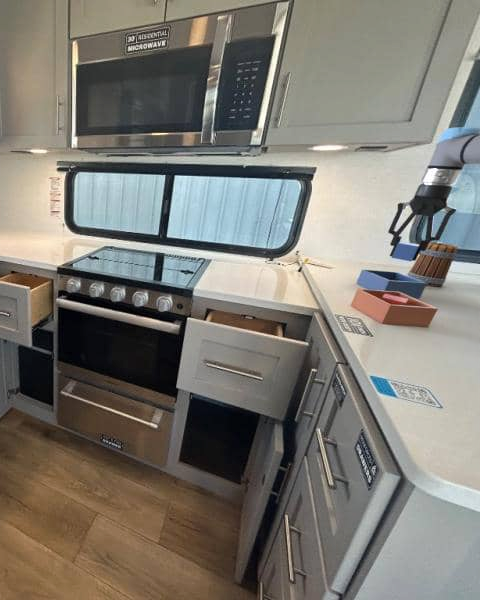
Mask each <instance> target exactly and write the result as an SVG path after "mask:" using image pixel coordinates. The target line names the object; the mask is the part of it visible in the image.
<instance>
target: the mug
mask: <svg viewBox="0 0 480 600" xmlns="http://www.w3.org/2000/svg"><path fill="white" fill-rule="evenodd" d="M457 251H458V245H455V244H451V243H444V242H441V241H437V242H436V241H430V243H429V245H428V247H427V249H426V250H425V251H420V252H419V254H418V257H417V259H416V260H415V261H414V263H413V266H412V267H411V269H410V270H408V273H407V274H406V276H409V277H411V278H414V279H417V280H419V281H422V282H425V283H427V285H426V287H436V288H437V287H442V286H443V285H444V284H445V282H446V279H447V275H448V273H449V271H450V268H451V266H452V264H453V261H454V259H455V257H456V255H457ZM428 285H430V286H428Z"/></svg>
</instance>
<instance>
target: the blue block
mask: <svg viewBox="0 0 480 600" xmlns="http://www.w3.org/2000/svg"><path fill="white" fill-rule="evenodd" d="M419 245H420V243H413V242H406V241H401V240H400V242H399V243H398V244H397V247H396V249H395V251H394V253H393V255H392V256H391V259H396V260H401V261H406V262H412V261H413V258H414V255H415V253H416V251H417V249H418V247H419Z"/></svg>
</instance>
